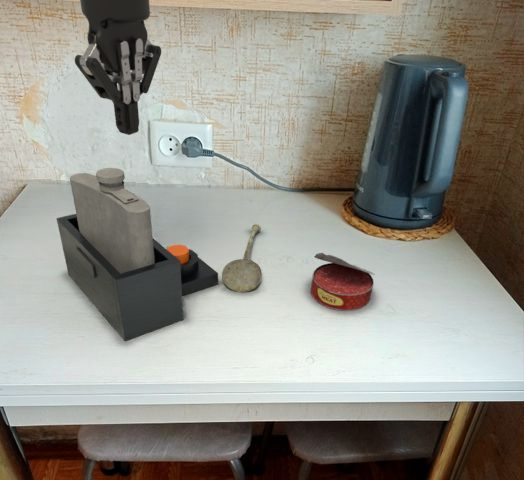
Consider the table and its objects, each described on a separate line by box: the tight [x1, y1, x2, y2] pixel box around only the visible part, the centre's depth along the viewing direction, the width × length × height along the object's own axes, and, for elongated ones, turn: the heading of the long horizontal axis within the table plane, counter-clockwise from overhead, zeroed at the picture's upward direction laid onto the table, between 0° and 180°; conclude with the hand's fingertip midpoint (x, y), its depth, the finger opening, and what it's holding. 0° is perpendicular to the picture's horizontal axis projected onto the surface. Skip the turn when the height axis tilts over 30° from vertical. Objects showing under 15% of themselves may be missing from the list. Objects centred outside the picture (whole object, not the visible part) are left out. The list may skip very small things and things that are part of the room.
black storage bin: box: [56, 213, 184, 342], centre depth 76 cm, size 10×21×10 cm, turn 37°
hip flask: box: [69, 167, 155, 274], centre depth 73 cm, size 16×4×20 cm, turn 47°
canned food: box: [310, 252, 376, 312], centre depth 82 cm, size 11×10×10 cm
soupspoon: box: [221, 223, 263, 293], centre depth 90 cm, size 22×3×7 cm
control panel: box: [180, 248, 219, 297], centre depth 83 cm, size 9×10×4 cm
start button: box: [166, 244, 189, 264], centre depth 82 cm, size 4×4×2 cm
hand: (128, 132), depth 66 cm, fingers closed
